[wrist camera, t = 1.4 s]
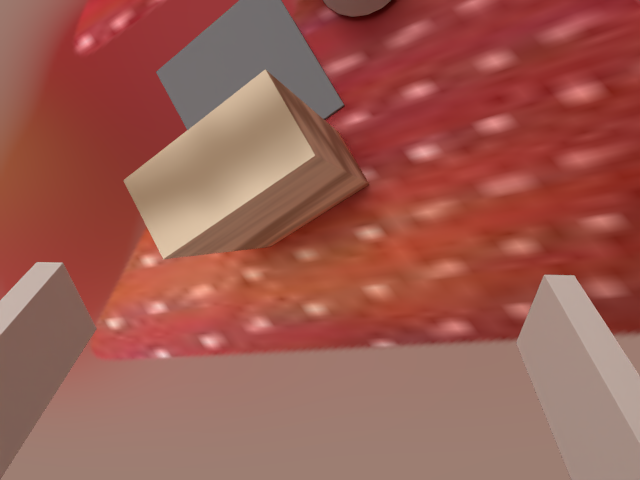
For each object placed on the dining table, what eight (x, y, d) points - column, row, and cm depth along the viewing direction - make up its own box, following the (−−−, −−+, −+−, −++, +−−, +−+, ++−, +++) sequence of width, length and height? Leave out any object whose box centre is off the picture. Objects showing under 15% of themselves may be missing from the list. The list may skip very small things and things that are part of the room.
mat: (344, 105, 33) (343, 104, 33) (222, 191, 37) (220, 191, 36) (268, -22, 35) (266, -24, 34) (158, 73, 38) (156, 71, 38)
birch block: (369, 184, 33) (315, 155, 19) (270, 246, 36) (163, 259, 22) (338, 132, 33) (265, 69, 20) (243, 197, 36) (123, 180, 23)
